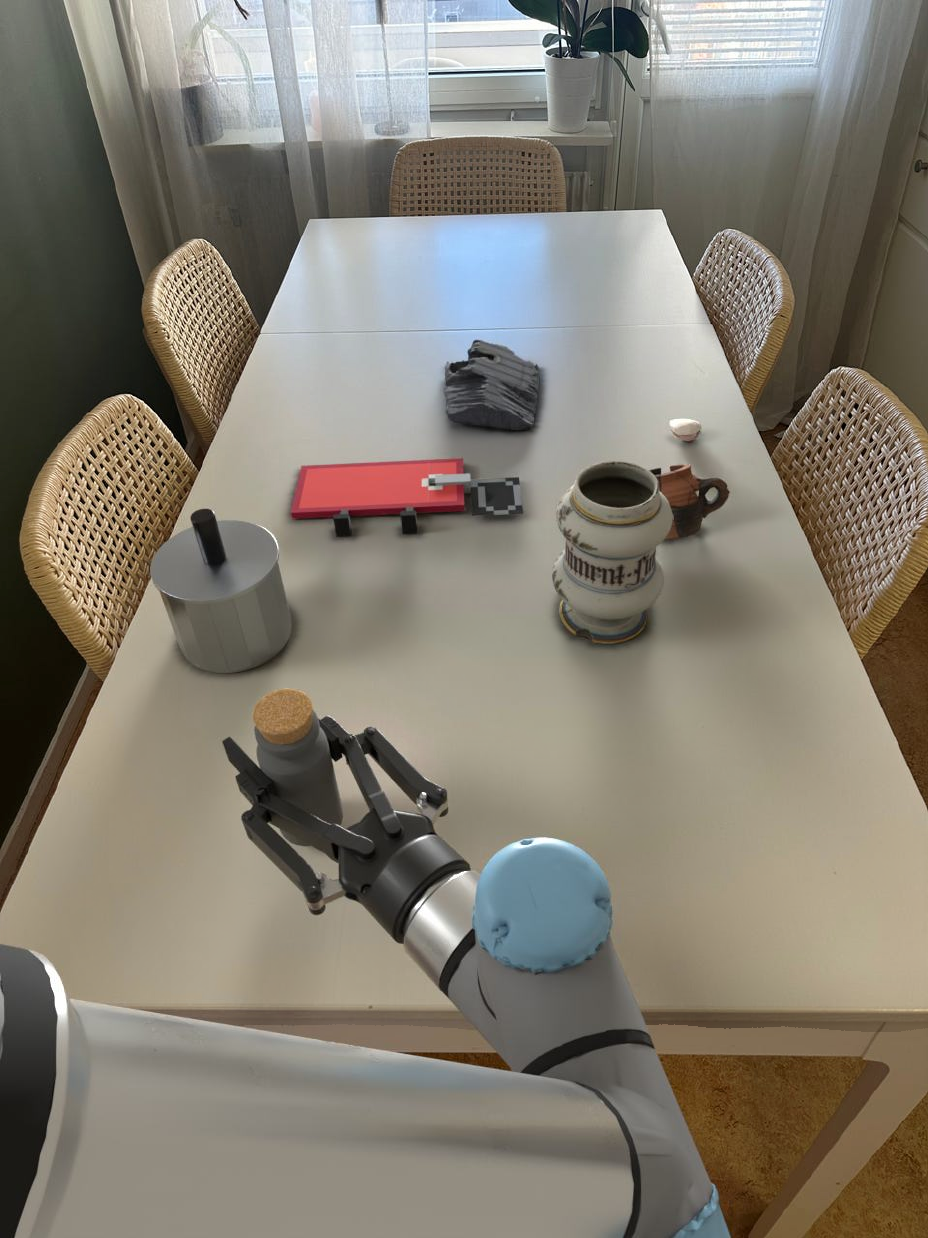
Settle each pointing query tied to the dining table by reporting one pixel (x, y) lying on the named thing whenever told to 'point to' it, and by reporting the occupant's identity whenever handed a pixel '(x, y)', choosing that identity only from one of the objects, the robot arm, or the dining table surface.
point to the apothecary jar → (610, 550)
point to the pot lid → (214, 560)
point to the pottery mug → (689, 498)
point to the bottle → (296, 755)
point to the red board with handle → (399, 491)
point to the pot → (233, 628)
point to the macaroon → (685, 429)
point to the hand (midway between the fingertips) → (262, 728)
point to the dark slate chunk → (492, 388)
